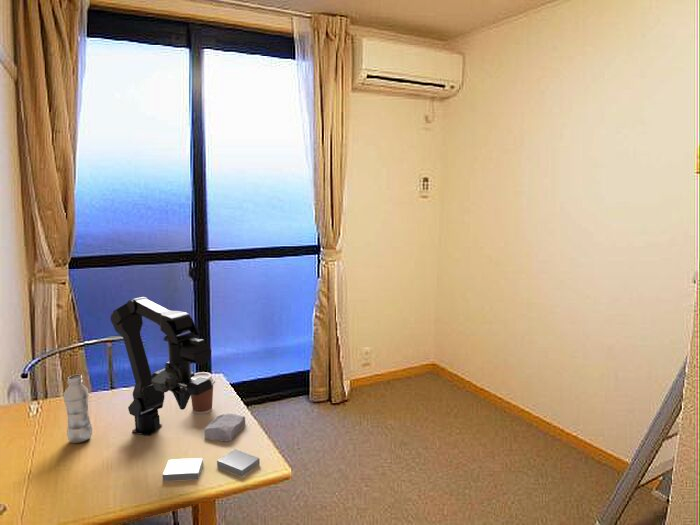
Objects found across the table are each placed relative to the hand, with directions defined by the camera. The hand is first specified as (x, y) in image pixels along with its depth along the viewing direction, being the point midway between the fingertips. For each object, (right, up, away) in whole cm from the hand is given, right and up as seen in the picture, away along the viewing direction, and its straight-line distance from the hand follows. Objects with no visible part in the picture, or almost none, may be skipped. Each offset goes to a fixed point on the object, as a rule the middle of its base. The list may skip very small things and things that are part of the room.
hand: (182, 409), depth 145 cm
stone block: (+9, -11, +12) cm, 18 cm away
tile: (+14, -13, -5) cm, 19 cm away
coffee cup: (-2, -8, +26) cm, 27 cm away
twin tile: (+4, -15, -10) cm, 18 cm away
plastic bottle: (-33, -11, +6) cm, 35 cm away
